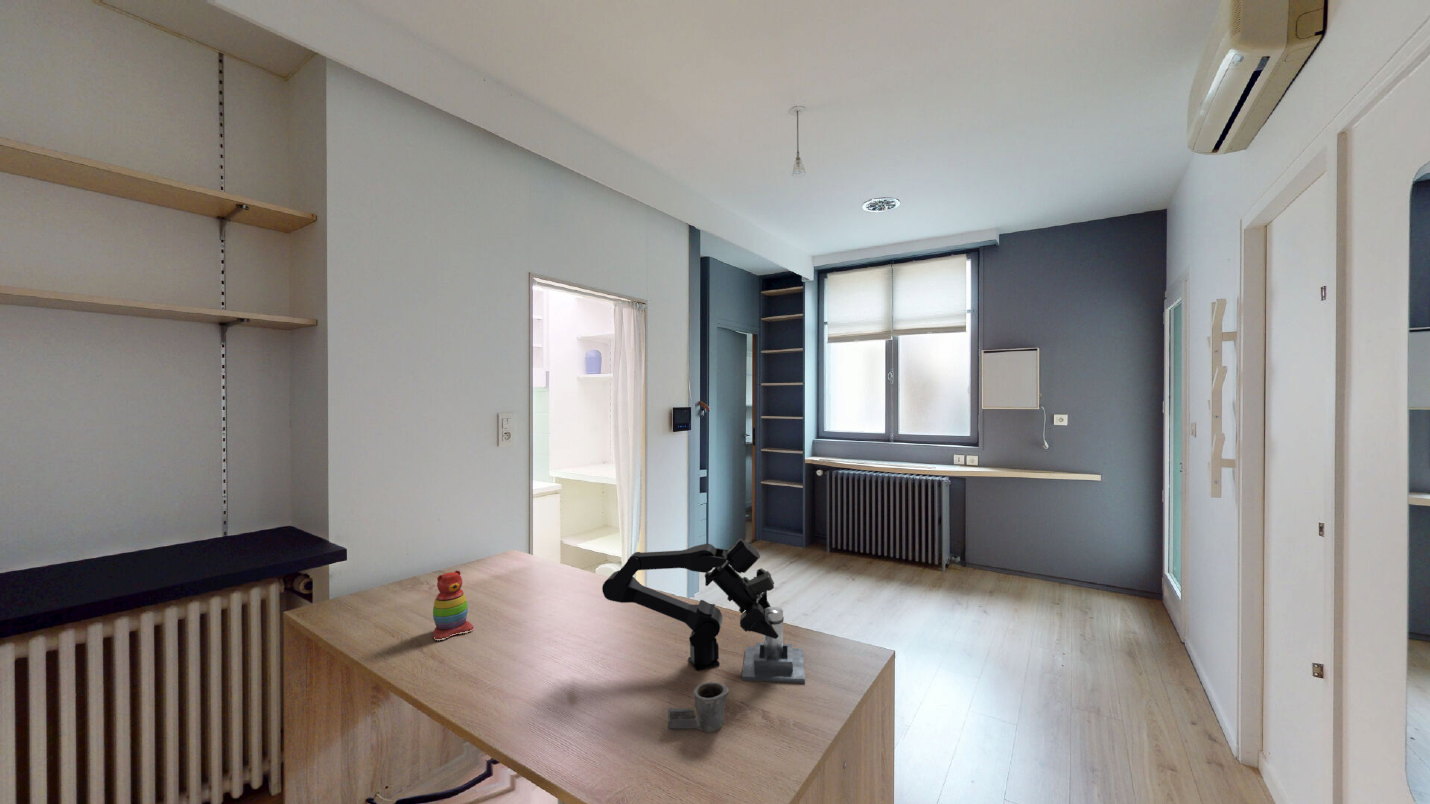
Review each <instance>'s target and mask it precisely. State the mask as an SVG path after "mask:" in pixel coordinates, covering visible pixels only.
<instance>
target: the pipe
mask: <svg viewBox="0 0 1430 804" xmlns="http://www.w3.org/2000/svg"><path fill="white" fill-rule="evenodd" d="M729 692H730V689H729V688H728V686H726V685H725V684H723V683H720V682H713V681H711V682H710V681H708V682H707V681H706V682H702V683H700V684H698V685H697V686H696V687H694V690H693V696H694V705H695V706H694V707H691V708H687V707H686V708H679V707H677V708H676V707H673V708H672V707H669V708H668V710H667V729H669V730H701V731H702V732H705V733H713V732H716V731H718V730H719V729H721V728H722V726H723V724H724V711H725V707H726V706H725V705H726V702H727V698H728V695H729V694H730V693H729Z"/></svg>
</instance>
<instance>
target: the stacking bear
mask: <svg viewBox="0 0 1430 804" xmlns="http://www.w3.org/2000/svg"><path fill="white" fill-rule="evenodd" d="M436 578H437V580H436V581H437V583H436V586H437V590H438V591H439V593H437V595H436V598H434V603H433V608H432V618H433V621H434V624H435V628H434V630H433V632H432V638H433V637H435V639H442V638H446V637H449V636H450V635H452V634H456V633H460V632H465V631H470V630H472V629H473V628H474V625H473V623H471V622H470V621H468V620H467V616H468V612H469V611H468V607H469V605H468V601H467V598H466V597H467V596H466V594H465V592H464V590H463V589H462V586H463V578H462V576H461V571H460V570H455V571H454V572H453V571H452V572H451V571H449V572H445V573H443V574H440V575H438V576H437V577H436Z"/></svg>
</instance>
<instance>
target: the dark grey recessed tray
mask: <svg viewBox="0 0 1430 804" xmlns="http://www.w3.org/2000/svg"><path fill="white" fill-rule="evenodd" d="M804 662H805V661H804V651H803V648H802V647H801V648H800V647H799V648H797V647H796V648H795V647H793V644H792V643H783V659H764V642H755V646H746V647H745V653H744V661H743V666H742V673H741V674H742V675H741V681H750V682H751V681H752V682H768V683H771V682H773V683H789V684H790V683H795V684H805V683H806V675H805V663H804Z"/></svg>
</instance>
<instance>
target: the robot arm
mask: <svg viewBox="0 0 1430 804" xmlns="http://www.w3.org/2000/svg"><path fill="white" fill-rule="evenodd" d="M759 559H761V555H760V553H759V551H758V550H757V548H755V547H754V546H753V545H752V544H751V543H749V542H747V541H745V540H744V539H743V538H739V539H738V540H737V541H736V543H735V544H734V545H733V546H732V547H731V548H730V549H725V548H718V547H715V546H714V545H713V544H711V543H704V544H703V543H702V544H699V545H694V546H692V547H689V548H686V549H681V550H665V551H663V550H662V551H646V552H645V551H644V552H640V551H637V552H636V551H635V552H634V553H632V554H631V555H630V556H629V557H628V558H627V561H626V562H625V564H624V565H623V566H622V567H621V568H620V570H616V571H615V572H613V573H612V574H610V576H609V577H608V578H607V579H606V580H605V581H604V582H603V584H602V587H601V588H602V594H603V597H604V598H605V599H606V600H608V601H610V602H615V603H621V604H626V603H627V604H630V603H634V604H636V605H639V606H641V607H645V608H647V609H649V610H652V611H655V612H656V613H659V614H662V615H664V616H667V617H669V618H671V619H675V620H677V621H679V622H682V623H684V624H685V625H686V626H687V627H688V628H689V629H691V632H690V635H689V639H688V640H689V654H690V655H689V657H688V658H687V659H688V662H689V663H690V665H692V667H693V669H694V670H695V671H696V672H697V671H701V670H706V669H709V668H710V669H711V668H714V667H719V666H720V664H721V663H720V661H718V660H719V658H720V653H719V643H718V641H717V637H718V635H719V633H720V632H721V631H720V630H721V627H722V624H723V619H724V618H723V614H722V611H721V610H720V609H719V608H718V607H716V604H714V603H713V604H712V603H709V602H707V601H705V600H704V599H699V603H698V604H691V603H689V602H686V601H684V600H683V601H682V599H681V600H680V599H678V598H676V597H673V596H671V595H667V594H666V593H663V592H661V591H660V592H659V591H657V590H656V589H655V590H654V589H652V588H649V587H647V586H645V585H642V584H641V583H640V581H638V580H637V579H636V578H635V577H634V576H635V574H636V573H638V571H647V570H648V571H649V570H666V569H667V570H668V569H669V570H670V569H685V570H688V571H690V572H691V571H692V572H696V573H703V574H704V573H705V574H704V578H705V583H704V585H705V587H708V586H709V585H710V584H711V583H712V582H713V583H715V584H716V586H717V587H718V588H719V589H720V590H721V591H722V592H723V593H724V594H725V595H726V596H727V600H728V601H729V602H731V601H732V602H733V603H734V604H736V605H737V607H739V610H738V611H739V612H740V614H741V615H740V619H739V627H740V628H741V629H742V630H743V631H745V632H749V633H751V632H752V633H757V634H760V635H763V636H764V635H765V636H768V637H771V638H774V639H776V638H777V637H778V634H777V632H776V631H775V630H774V628H773V627H772V626H771V624H770V623H769V622H768V621H767V619H766V611H765V610H764V609H765V608H767V607H772V606H771V604H770V603H769V600H768V592H769V591H771V590H773V589H774V588H775V586H774V584H775V581H774V580H773V578H772V575H771V573H770V572H769V571H768V570H765V569H763V568H762V567H760V568H759V569H757V570H756V575H755V576H753V578H751V579H749V578H748V577H745V576H744V577H742V576H741V575H740V574H742V573H743V574H745V573H747V571H749V569H750V568H751V567H752V566H753V565H754V564H755V563H756V562H757V561H759Z"/></svg>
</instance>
